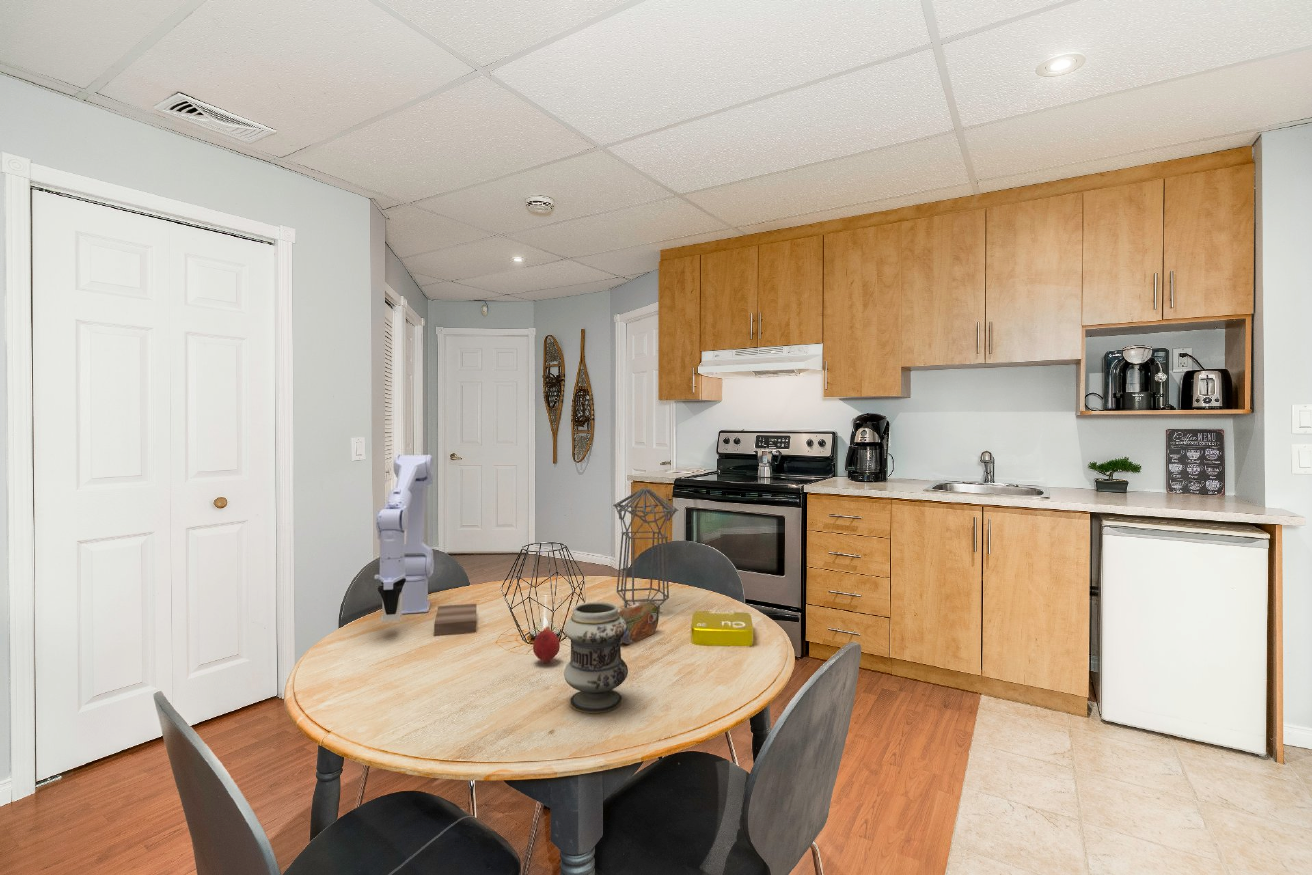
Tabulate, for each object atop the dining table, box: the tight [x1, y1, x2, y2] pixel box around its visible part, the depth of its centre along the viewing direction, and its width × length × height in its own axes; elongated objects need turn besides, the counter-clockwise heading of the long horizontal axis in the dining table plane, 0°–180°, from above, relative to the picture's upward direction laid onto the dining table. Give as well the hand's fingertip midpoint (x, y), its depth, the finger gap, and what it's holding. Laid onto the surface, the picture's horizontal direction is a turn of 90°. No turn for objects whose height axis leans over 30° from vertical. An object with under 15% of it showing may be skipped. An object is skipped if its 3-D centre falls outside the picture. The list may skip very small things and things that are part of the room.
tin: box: [618, 601, 660, 645], centre depth 151 cm, size 15×3×8 cm, turn 143°
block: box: [381, 593, 403, 623], centre depth 152 cm, size 4×4×6 cm
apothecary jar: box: [563, 601, 629, 714], centre depth 116 cm, size 12×12×18 cm
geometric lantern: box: [612, 487, 679, 613], centre depth 174 cm, size 16×16×35 cm
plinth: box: [433, 603, 477, 637], centre depth 161 cm, size 16×10×3 cm, turn 16°
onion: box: [532, 625, 561, 664], centre depth 135 cm, size 6×6×8 cm
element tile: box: [690, 610, 754, 647], centre depth 153 cm, size 15×15×5 cm
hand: (392, 611), depth 152 cm, fingers closed on block, 4 cm apart
